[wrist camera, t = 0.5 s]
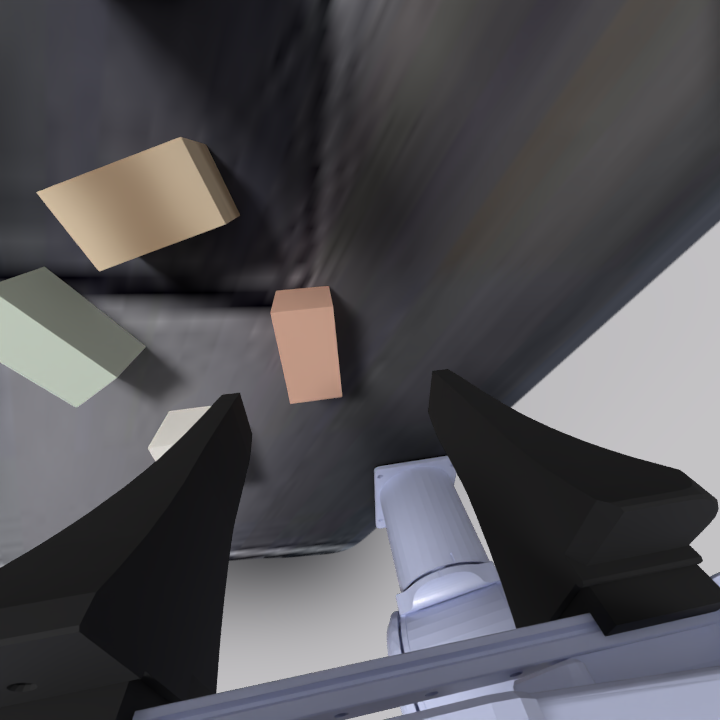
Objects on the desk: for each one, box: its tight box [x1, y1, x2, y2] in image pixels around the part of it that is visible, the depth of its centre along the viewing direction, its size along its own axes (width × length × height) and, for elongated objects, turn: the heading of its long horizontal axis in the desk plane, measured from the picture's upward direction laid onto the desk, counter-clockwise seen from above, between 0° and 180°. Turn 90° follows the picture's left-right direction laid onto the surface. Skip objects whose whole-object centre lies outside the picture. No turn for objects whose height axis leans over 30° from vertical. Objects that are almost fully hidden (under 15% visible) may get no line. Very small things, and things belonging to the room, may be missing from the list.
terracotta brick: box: [271, 286, 342, 404], centre depth 19 cm, size 6×3×4 cm, turn 3°
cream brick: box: [148, 406, 211, 461], centre depth 22 cm, size 6×3×4 cm, turn 3°
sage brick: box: [0, 267, 146, 408], centre depth 16 cm, size 6×3×4 cm, turn 33°
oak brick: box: [36, 137, 240, 271], centre depth 14 cm, size 6×3×4 cm, turn 108°
